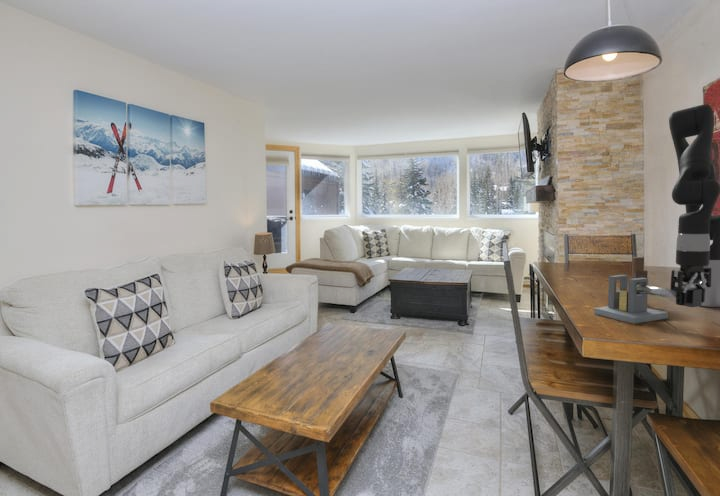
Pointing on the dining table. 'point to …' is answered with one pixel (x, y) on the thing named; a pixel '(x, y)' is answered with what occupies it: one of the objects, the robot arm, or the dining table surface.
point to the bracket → (629, 302)
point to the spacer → (624, 300)
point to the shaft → (673, 294)
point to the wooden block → (638, 268)
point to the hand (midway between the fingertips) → (690, 303)
